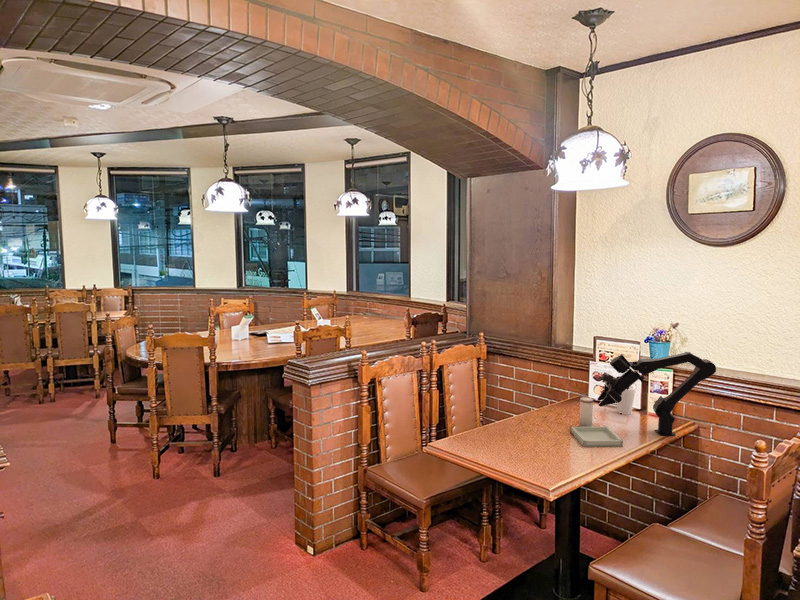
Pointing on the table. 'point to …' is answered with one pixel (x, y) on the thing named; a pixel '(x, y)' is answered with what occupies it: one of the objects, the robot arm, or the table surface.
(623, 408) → the foam cup
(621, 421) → the table surface
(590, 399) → the tumbler
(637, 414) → the table surface
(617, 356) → the robot arm
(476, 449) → the table surface
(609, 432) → the tray
